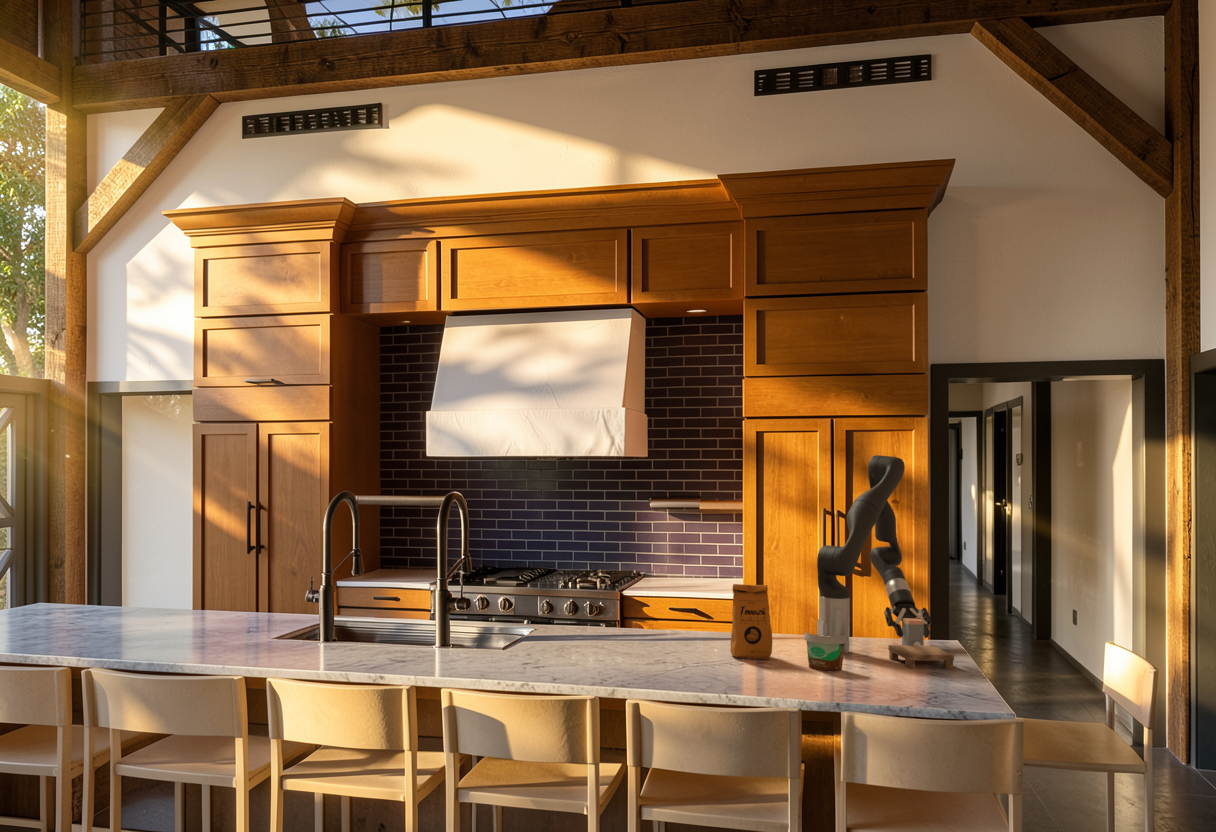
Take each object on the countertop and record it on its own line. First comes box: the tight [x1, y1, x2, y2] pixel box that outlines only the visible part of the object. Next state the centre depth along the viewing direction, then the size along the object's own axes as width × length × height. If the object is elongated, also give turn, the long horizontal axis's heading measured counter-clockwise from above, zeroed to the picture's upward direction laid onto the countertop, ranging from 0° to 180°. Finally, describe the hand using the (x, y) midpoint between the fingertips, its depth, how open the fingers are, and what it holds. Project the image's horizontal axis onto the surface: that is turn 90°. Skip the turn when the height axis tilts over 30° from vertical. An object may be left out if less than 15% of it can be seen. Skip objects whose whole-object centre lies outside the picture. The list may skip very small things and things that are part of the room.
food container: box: [803, 630, 847, 673], centre depth 247 cm, size 12×6×10 cm, turn 62°
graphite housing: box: [901, 617, 925, 646], centre depth 277 cm, size 5×6×10 cm
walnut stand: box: [888, 644, 955, 670], centre depth 258 cm, size 14×14×4 cm
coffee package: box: [730, 583, 773, 660], centre depth 262 cm, size 10×12×22 cm
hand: (914, 636), depth 277 cm, fingers open, 8 cm apart
